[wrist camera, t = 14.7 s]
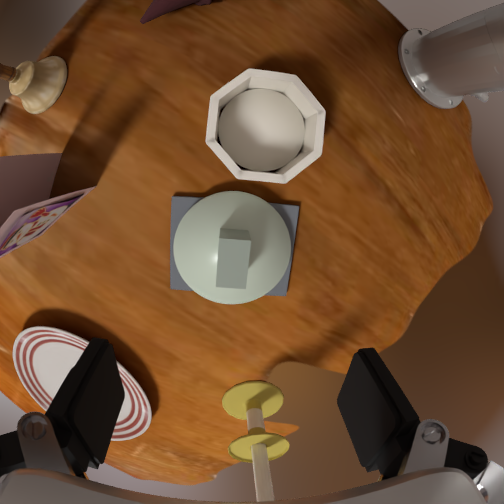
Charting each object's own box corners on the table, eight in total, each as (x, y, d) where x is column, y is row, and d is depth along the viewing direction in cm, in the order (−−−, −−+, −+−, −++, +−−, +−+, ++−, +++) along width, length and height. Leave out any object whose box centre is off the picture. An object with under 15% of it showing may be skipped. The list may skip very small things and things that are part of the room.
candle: (287, 412, 42) (320, 551, 17) (230, 422, 42) (239, 562, 17) (279, 374, 39) (319, 543, 14) (214, 386, 39) (214, 555, 13)
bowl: (313, 92, 27) (327, 81, 23) (304, 183, 31) (317, 187, 26) (216, 80, 26) (214, 65, 21) (206, 174, 29) (202, 176, 25)
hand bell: (15, 96, 23) (-64, 86, 8) (49, 47, 21) (-23, 14, 6) (40, 125, 25) (-48, 121, 10) (78, 72, 24) (-2, 35, 8)
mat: (297, 205, 31) (299, 206, 31) (285, 293, 35) (285, 295, 34) (172, 195, 30) (171, 196, 29) (171, 286, 33) (170, 288, 33)
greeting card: (44, 240, 30) (-29, 285, 16) (21, 196, 27) (-57, 222, 13) (99, 192, 29) (19, 220, 15) (73, 142, 27) (-12, 142, 12)
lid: (296, 197, 30) (309, 204, 26) (280, 303, 34) (288, 324, 30) (177, 186, 29) (168, 191, 24) (174, 295, 33) (166, 317, 28)
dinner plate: (97, 299, 33) (88, 311, 30) (181, 425, 42) (179, 439, 39) (0, 330, 34) (-9, 339, 31) (76, 429, 43) (72, 440, 39)
